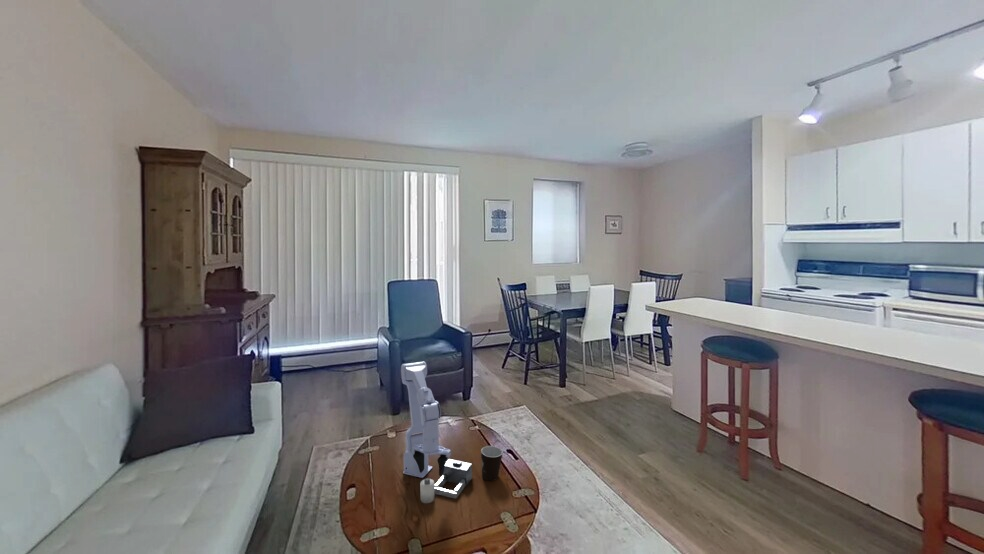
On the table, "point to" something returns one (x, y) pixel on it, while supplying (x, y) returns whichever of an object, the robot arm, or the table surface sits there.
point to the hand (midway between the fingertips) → (431, 472)
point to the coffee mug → (491, 462)
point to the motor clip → (454, 477)
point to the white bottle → (427, 490)
